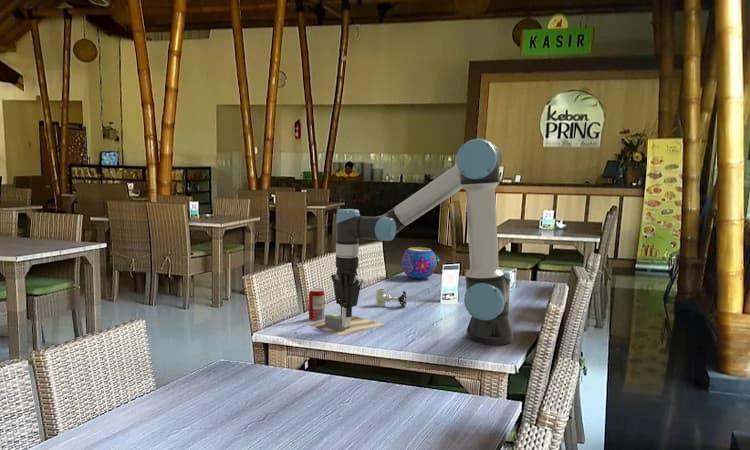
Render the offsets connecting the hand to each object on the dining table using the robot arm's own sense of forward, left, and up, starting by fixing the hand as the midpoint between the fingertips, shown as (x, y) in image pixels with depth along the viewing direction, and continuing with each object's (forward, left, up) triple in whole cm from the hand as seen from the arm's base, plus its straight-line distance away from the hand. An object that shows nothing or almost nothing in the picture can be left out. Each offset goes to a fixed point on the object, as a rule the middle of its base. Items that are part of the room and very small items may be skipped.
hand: (346, 326), depth 190 cm
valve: (+15, -39, -3) cm, 42 cm away
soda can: (+18, -3, -3) cm, 18 cm away
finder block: (+4, 0, -2) cm, 4 cm away
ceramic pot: (+43, -93, -3) cm, 103 cm away
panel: (+5, -5, -3) cm, 8 cm away
